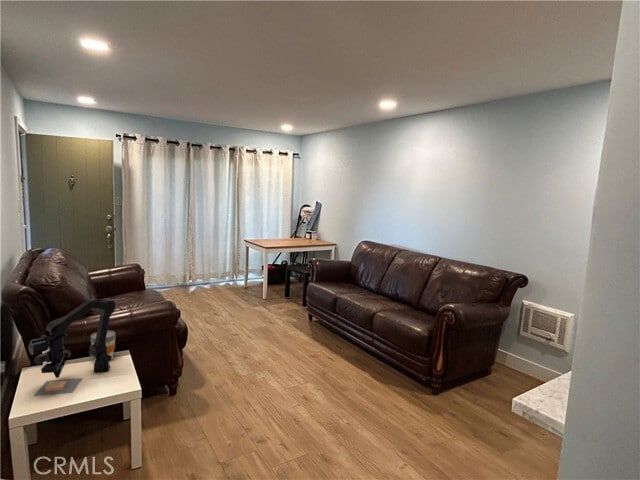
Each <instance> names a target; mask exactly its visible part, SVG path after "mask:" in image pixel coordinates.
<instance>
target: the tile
mask: <svg viewBox="0 0 640 480" xmlns="http://www.w3.org/2000/svg"><path fill="white" fill-rule="evenodd" d="M66 384H67V381H57V382H50V383H49V384H48V386H47V387H46V388H45V392H47V391H59V390H63V388H64V387H65V386H66Z"/></svg>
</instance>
